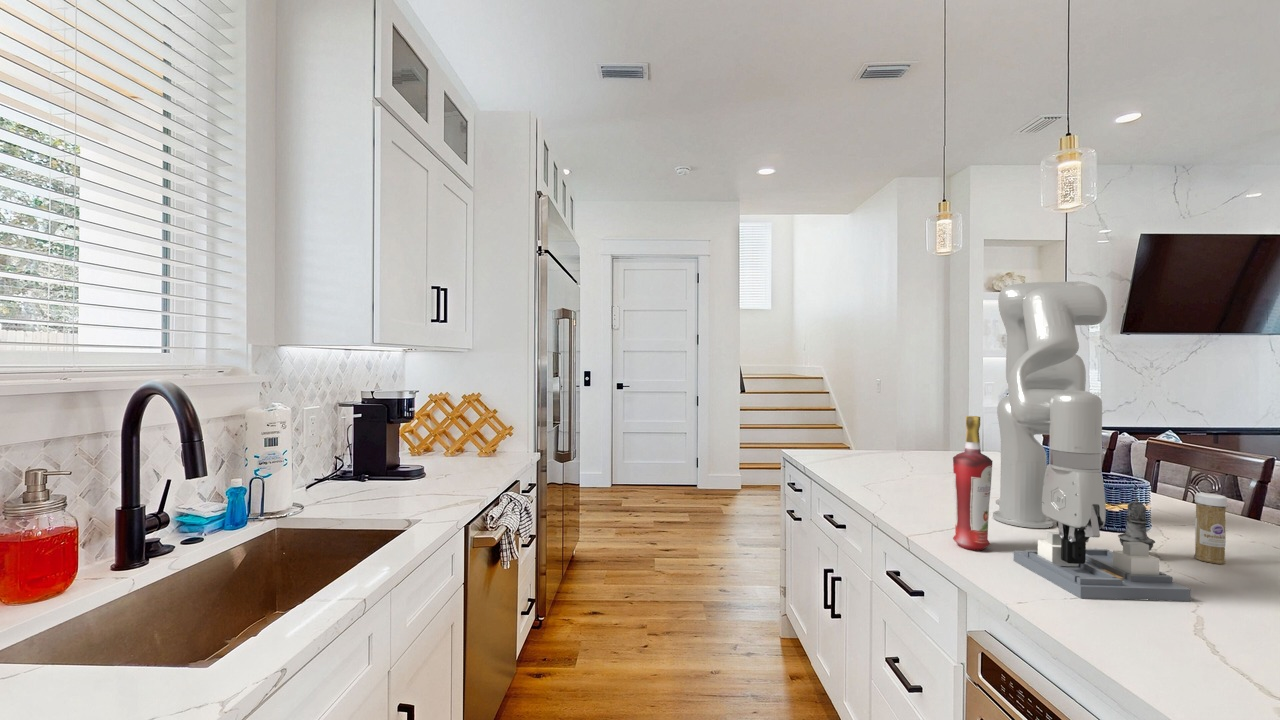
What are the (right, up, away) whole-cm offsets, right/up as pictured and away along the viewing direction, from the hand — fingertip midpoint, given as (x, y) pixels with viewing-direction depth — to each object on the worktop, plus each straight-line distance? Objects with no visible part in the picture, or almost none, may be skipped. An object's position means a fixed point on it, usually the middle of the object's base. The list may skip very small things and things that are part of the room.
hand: (1073, 561), depth 103 cm
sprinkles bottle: (+37, -4, +12) cm, 40 cm away
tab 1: (0, -1, +4) cm, 4 cm away
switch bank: (+5, -4, +1) cm, 6 cm away
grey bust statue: (+24, -4, +15) cm, 29 cm away
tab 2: (+10, -2, -2) cm, 10 cm away
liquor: (-7, -4, +19) cm, 21 cm away
